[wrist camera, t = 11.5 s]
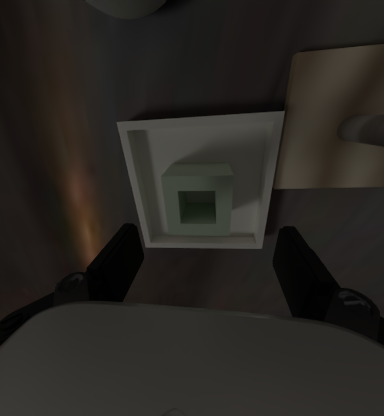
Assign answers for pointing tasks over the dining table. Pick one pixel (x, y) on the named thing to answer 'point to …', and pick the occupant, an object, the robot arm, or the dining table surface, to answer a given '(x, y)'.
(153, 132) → the tray
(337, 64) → the wooden peg base
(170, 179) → the green hollow square block
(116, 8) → the teacup
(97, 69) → the dining table surface
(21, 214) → the dining table surface
